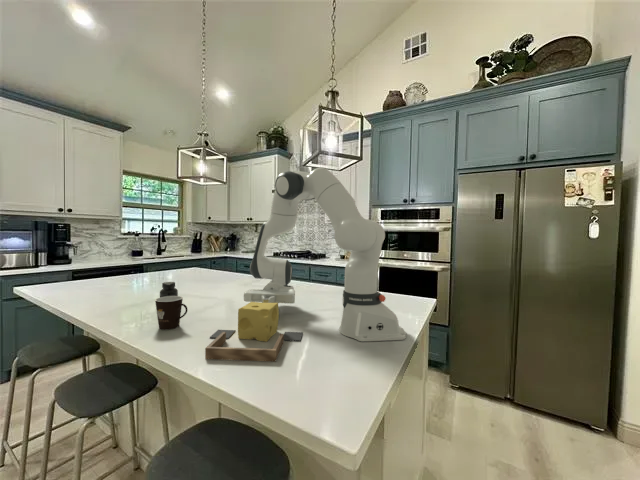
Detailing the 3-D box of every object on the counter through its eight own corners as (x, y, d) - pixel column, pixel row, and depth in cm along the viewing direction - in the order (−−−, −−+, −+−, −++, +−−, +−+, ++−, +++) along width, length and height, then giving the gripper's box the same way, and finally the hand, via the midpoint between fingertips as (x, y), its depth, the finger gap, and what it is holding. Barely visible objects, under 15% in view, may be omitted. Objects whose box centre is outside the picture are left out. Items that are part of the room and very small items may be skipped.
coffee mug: (152, 326, 103) (151, 298, 103) (177, 321, 109) (177, 294, 109) (162, 335, 95) (162, 304, 95) (189, 329, 101) (189, 300, 101)
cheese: (267, 342, 91) (268, 310, 90) (235, 339, 93) (235, 308, 92) (279, 331, 101) (279, 302, 101) (249, 328, 103) (250, 300, 103)
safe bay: (283, 343, 90) (283, 333, 90) (275, 361, 77) (275, 350, 77) (222, 341, 91) (222, 331, 91) (205, 359, 78) (205, 348, 78)
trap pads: (302, 333, 99) (302, 332, 99) (300, 341, 92) (300, 340, 92) (218, 330, 100) (218, 329, 100) (209, 338, 93) (209, 337, 93)
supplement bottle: (161, 309, 125) (161, 281, 124) (179, 308, 127) (179, 280, 126) (158, 313, 118) (157, 284, 118) (176, 312, 120) (176, 283, 120)
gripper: (248, 284, 123) (238, 291, 109) (297, 286, 122) (292, 294, 108) (248, 299, 123) (238, 308, 109) (296, 301, 122) (292, 310, 109)
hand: (265, 301), depth 109 cm, fingers closed
